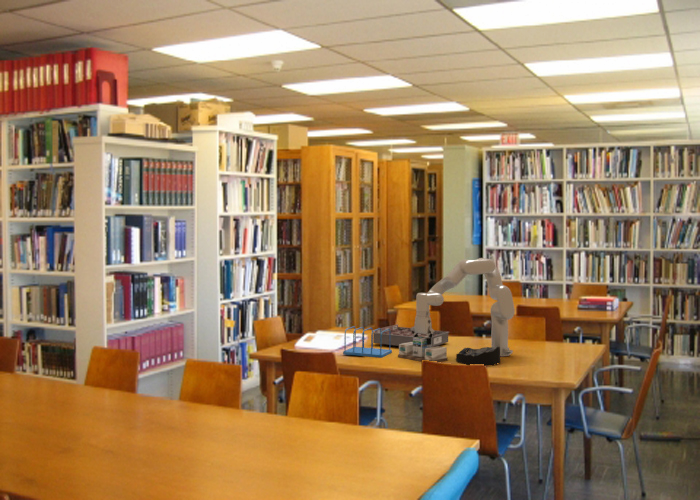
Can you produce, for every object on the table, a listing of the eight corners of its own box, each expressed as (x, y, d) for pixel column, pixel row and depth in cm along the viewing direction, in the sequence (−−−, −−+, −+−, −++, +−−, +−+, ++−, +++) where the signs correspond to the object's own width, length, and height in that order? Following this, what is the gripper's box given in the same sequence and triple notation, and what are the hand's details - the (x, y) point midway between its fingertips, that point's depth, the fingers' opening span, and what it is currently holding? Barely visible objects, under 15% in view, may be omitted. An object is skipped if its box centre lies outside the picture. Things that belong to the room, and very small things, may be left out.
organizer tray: (426, 351, 437) (426, 335, 437) (371, 345, 460) (371, 329, 459) (449, 344, 464) (449, 328, 463) (396, 338, 486) (396, 323, 486)
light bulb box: (422, 357, 408) (422, 338, 407) (412, 356, 412) (412, 337, 411) (432, 354, 416) (432, 336, 415) (422, 353, 420) (422, 335, 420)
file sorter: (342, 354, 426) (342, 329, 425) (354, 349, 442) (354, 325, 441) (381, 358, 416) (381, 331, 415) (392, 352, 432) (392, 327, 431)
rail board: (447, 360, 409) (447, 347, 408) (431, 363, 399) (431, 350, 399) (413, 354, 428) (413, 341, 427) (397, 357, 418) (397, 344, 418)
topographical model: (490, 356, 421) (490, 340, 420) (507, 365, 396) (507, 347, 396) (450, 358, 416) (450, 341, 416) (464, 366, 392) (465, 348, 392)
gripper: (438, 315, 409) (438, 344, 409) (415, 312, 421) (415, 341, 422) (429, 316, 404) (429, 346, 404) (407, 313, 416) (407, 342, 417)
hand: (422, 343), depth 413 cm, fingers open, 9 cm apart
